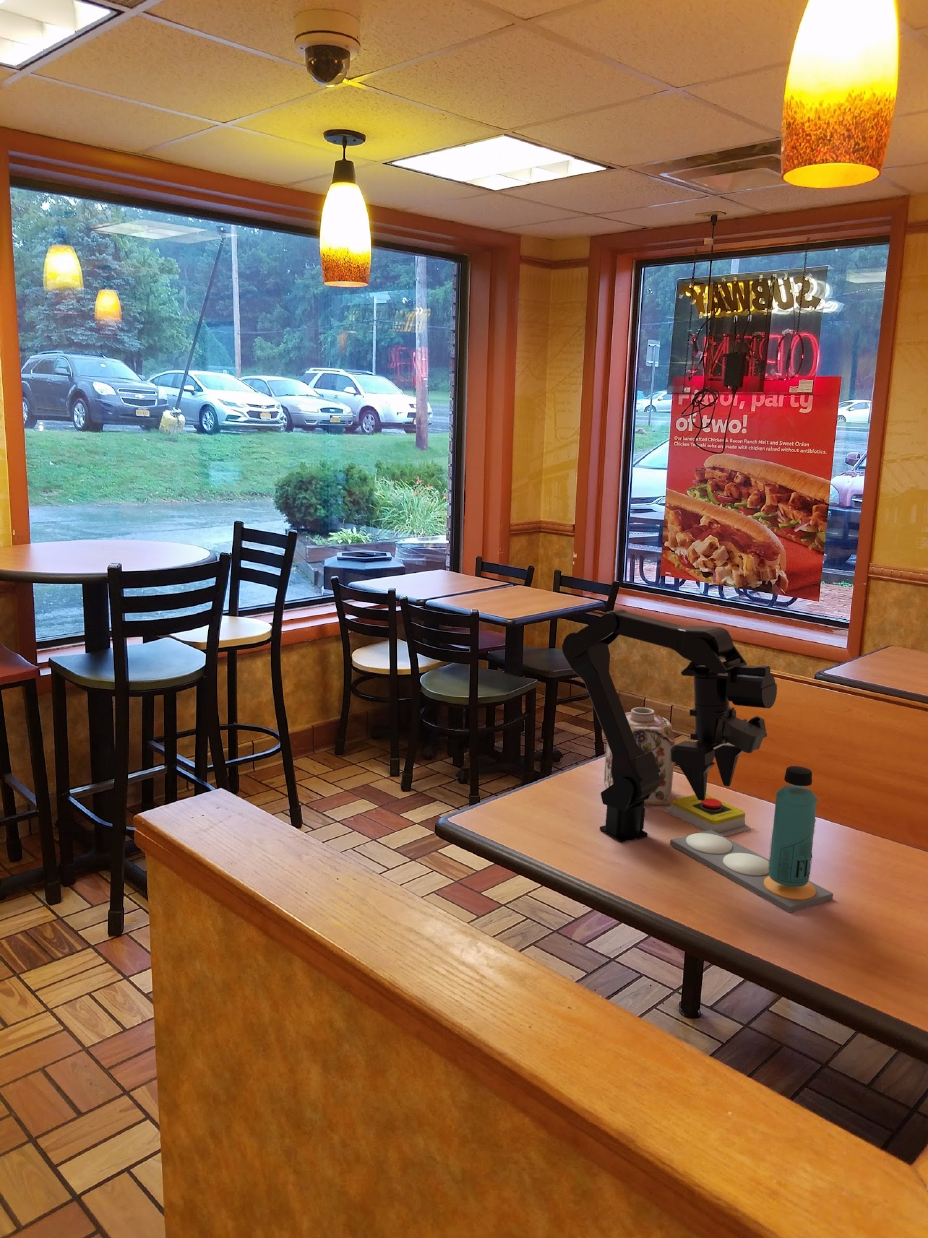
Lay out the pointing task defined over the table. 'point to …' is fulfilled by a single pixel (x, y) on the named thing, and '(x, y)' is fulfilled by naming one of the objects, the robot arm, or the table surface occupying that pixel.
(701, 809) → the emergency button
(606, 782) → the decorative jar
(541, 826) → the table surface
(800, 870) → the beverage bottle
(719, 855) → the panel
